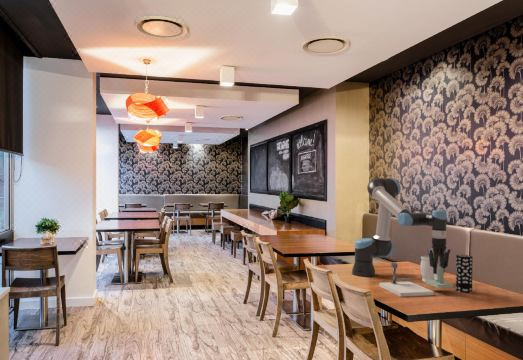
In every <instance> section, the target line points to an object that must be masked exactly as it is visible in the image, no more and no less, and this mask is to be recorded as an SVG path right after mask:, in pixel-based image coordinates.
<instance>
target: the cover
mask: <svg viewBox="0 0 523 360" xmlns="http://www.w3.org/2000/svg"><path fill="white" fill-rule="evenodd" d="M437 268H438V280H435V279H434V280H425V281H423V282H424V284H427V285H429V286H432V287H434V288H438V289H439V288H440V289H441V288H454V287H455V285H454V283H451V282H449V281H445V280H444V274H445V268H444V269H443V268H440V266H438V267H437Z"/></svg>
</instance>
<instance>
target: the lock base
mask: <svg viewBox="0 0 523 360" xmlns="http://www.w3.org/2000/svg"><path fill="white" fill-rule="evenodd" d="M378 287H380V288H382V289H384V290H386V291H388V292H390V293H392V294H394V295H396V296H398V297H423V296H424V297H425V296H434V295H435V294H434V293H435V292H434V290H431V289H428V288H426V287H423V286H421V285H419V284H416V283H414V282H411V281H396V283H393V281H392V282H391V281H390V282H378Z"/></svg>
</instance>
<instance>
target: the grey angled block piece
mask: <svg viewBox="0 0 523 360" xmlns="http://www.w3.org/2000/svg"><path fill="white" fill-rule="evenodd" d="M390 266H391V268H392V282H393V283H396V282H411V281H412V280H411V278H403V277H402V278H401V277H400V278H399V277H397V275H396V274H397V269H398V266H399V265H398V263H397V262H396V261H391V265H390Z"/></svg>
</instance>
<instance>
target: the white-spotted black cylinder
mask: <svg viewBox="0 0 523 360" xmlns="http://www.w3.org/2000/svg"><path fill="white" fill-rule="evenodd" d="M455 256H456V257H455V261H456V263H455V267H456V268H455V291H456V292H458V293H463V294H471V293H473V265H474V264H473V261H474V260H473V259H474V258H473V255H468V254H456V255H455Z"/></svg>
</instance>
